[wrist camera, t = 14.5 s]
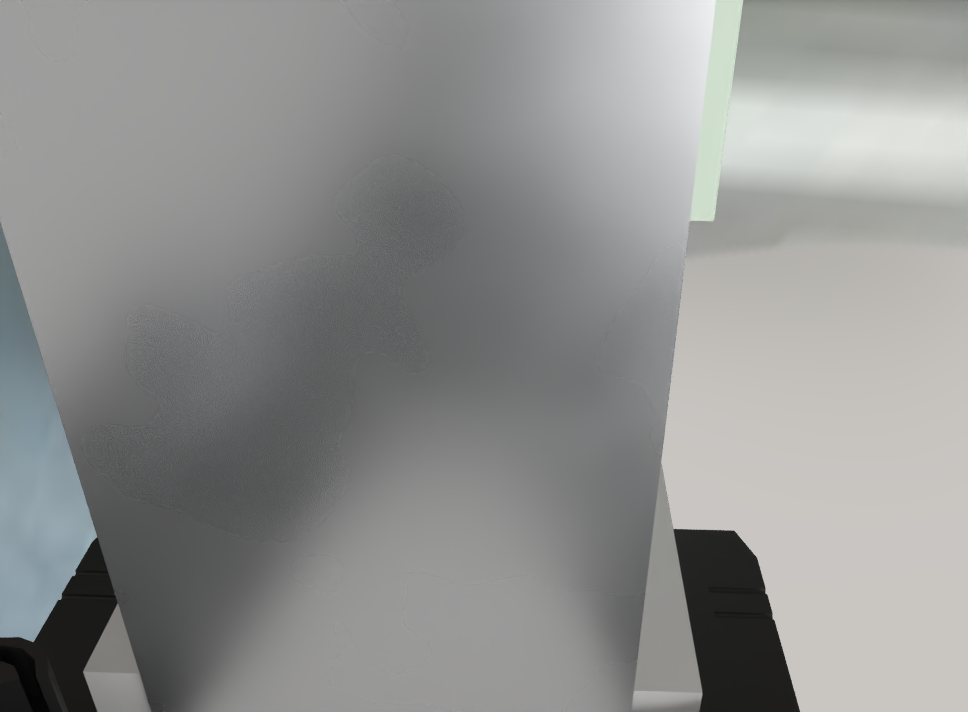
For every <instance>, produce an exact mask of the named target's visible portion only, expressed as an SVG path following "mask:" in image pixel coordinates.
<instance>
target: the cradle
mask: <svg viewBox="0 0 968 712" xmlns="http://www.w3.org/2000/svg"><path fill="white" fill-rule="evenodd" d="M742 4H743V0H716V5H715V14H714V22H713V30H712V39H711V47H710V56H709V64H708V72H707V81H706V89H705V97H704V106H703V114H702V123H701V131H700V139H699V148H698V156H697V165H696V173H695V181H694V190H693V198H692V207H691V215H690V221H714V216H715V209H716V201H717V193H718V186H719V178H720V171H721V163H722V156H723V148H724V140H725V133H726V125H727V118H728V110H729V103H730V95H731V88H732V80H733V72H734V65H735V57H736V50H737V42H738V35H739V27H740V19H741V12H742Z"/></svg>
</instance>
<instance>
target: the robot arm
mask: <svg viewBox="0 0 968 712" xmlns="http://www.w3.org/2000/svg"><path fill="white" fill-rule="evenodd" d="M0 712H151V709H150V706H149V703H148V699H147V696H146V693H145V690H144V686H143V683H142V680H141V677H140V673H139V670H138V667H137V664H136V660H135V657H134V654H133V651H132V647H131V644H130V641H129V638H128V634H127V631H126V628H125V625H124V621H123V618H122V615H121V612H120V608H119V605H118V602H117V599H116V595H115V592H114V589H113V586H112V582H111V579H110V576H109V573H108V569H107V566H106V563H105V560H104V556H103V553H102V550H101V547H100V544H99V540H98V537H97V538H96V539H95V540H94V541H93V542H92V543H91V545H90V547H89V548H88V550H87V552H86V554H85V555H84V557H83V559H82V560H81V562H80V564H79V566H78V567H77V569H76V575H75V576H72V578H71V579H70V581H69V583H68V584H67V586H66V588H65V590H64V591H63V593H62V599H61V600H58V601H57V603H56V605H55V607H54V608H53V610H52V612H51V613H50V615H49V617H48V619H47V620H46V622H45V624H44V625H43V627H42V629H41V631H40V632H39V634H38V636H37V637H36V639H35V641H34V642H31V641H28V640H25V639H23V638H20V637H13V638H0ZM631 712H800V710H799V706H798V703H797V699H796V696H795V692H794V689H793V685H792V681H791V678H790V674H789V671H788V667H787V664H786V660H785V656H784V653H783V649H782V646H781V642H780V639H779V635H778V632H777V628H776V624H775V621H774V620H773V618H772V610H771V607H770V603H769V599H768V596H767V594H765V585H764V581H763V578H762V574H761V571H760V567H759V564H758V560H757V557H756V556H755V555H754V554H753V553H752V551H751V550H750V549H749V548H748V547H747V545H746V544H745V543H744V542H743V541H742V539H741V538H740V537H739V536H738V535H737V533H736V532H735V531H724V530H723V531H722V530H687V529H686V530H685V529H673V525H672V520H671V514H670V508H669V503H668V497H667V492H666V486H665V480H664V475H663V469H662V464H661V467H660V475H659V484H658V492H657V500H656V509H655V517H654V526H653V534H652V542H651V551H650V559H649V568H648V576H647V584H646V593H645V601H644V610H643V618H642V626H641V635H640V643H639V652H638V660H637V668H636V677H635V685H634V694H633V702H632V710H631Z"/></svg>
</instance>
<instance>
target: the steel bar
mask: <svg viewBox="0 0 968 712" xmlns="http://www.w3.org/2000/svg"><path fill="white" fill-rule="evenodd" d="M715 5H716V0H0V222H1V225H2V229H3V232H4V235H5V238H6V242H7V245H8V248H9V251H10V255H11V258H12V261H13V264H14V268H15V271H16V274H17V277H18V281H19V284H20V287H21V290H22V294H23V297H24V300H25V303H26V307H27V310H28V313H29V316H30V320H31V323H32V326H33V329H34V333H35V336H36V339H37V342H38V346H39V349H40V352H41V355H42V359H43V362H44V365H45V368H46V372H47V375H48V378H49V381H50V385H51V388H52V391H53V394H54V397H55V401H56V404H57V407H58V410H59V414H60V417H61V420H62V423H63V427H64V430H65V433H66V436H67V440H68V443H69V446H70V449H71V453H72V456H73V459H74V462H75V466H76V469H77V472H78V475H79V479H80V482H81V485H82V488H83V492H84V495H85V498H86V501H87V505H88V508H89V511H90V514H91V518H92V521H93V524H94V527H95V531H96V534H97V537H98V540H99V544H100V547H101V550H102V553H103V556H104V560H105V563H106V566H107V569H108V573H109V576H110V579H111V582H112V586H113V589H114V592H115V595H116V599H117V602H118V605H119V608H120V612H121V615H122V618H123V621H124V625H125V628H126V631H127V634H128V638H129V641H130V644H131V647H132V651H133V654H134V657H135V660H136V664H137V667H138V670H139V673H140V677H141V680H142V683H143V686H144V690H145V693H146V696H147V699H148V703H149V706H150V709H151V712H631V710H632V702H633V694H634V685H635V677H636V668H637V660H638V652H639V643H640V635H641V626H642V618H643V610H644V601H645V593H646V584H647V576H648V568H649V559H650V551H651V542H652V534H653V526H654V517H655V509H656V500H657V492H658V484H659V475H660V467H661V457H662V449H663V441H664V433H665V425H666V416H667V407H668V400H669V391H670V383H671V375H672V366H673V357H674V348H675V341H676V333H677V324H678V315H679V307H680V299H681V290H682V282H683V273H684V265H685V257H686V249H687V240H688V232H689V223H690V215H691V207H692V198H693V190H694V181H695V173H696V165H697V156H698V148H699V139H700V131H701V123H702V114H703V106H704V97H705V89H706V81H707V72H708V64H709V56H710V47H711V39H712V30H713V22H714V14H715Z"/></svg>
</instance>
